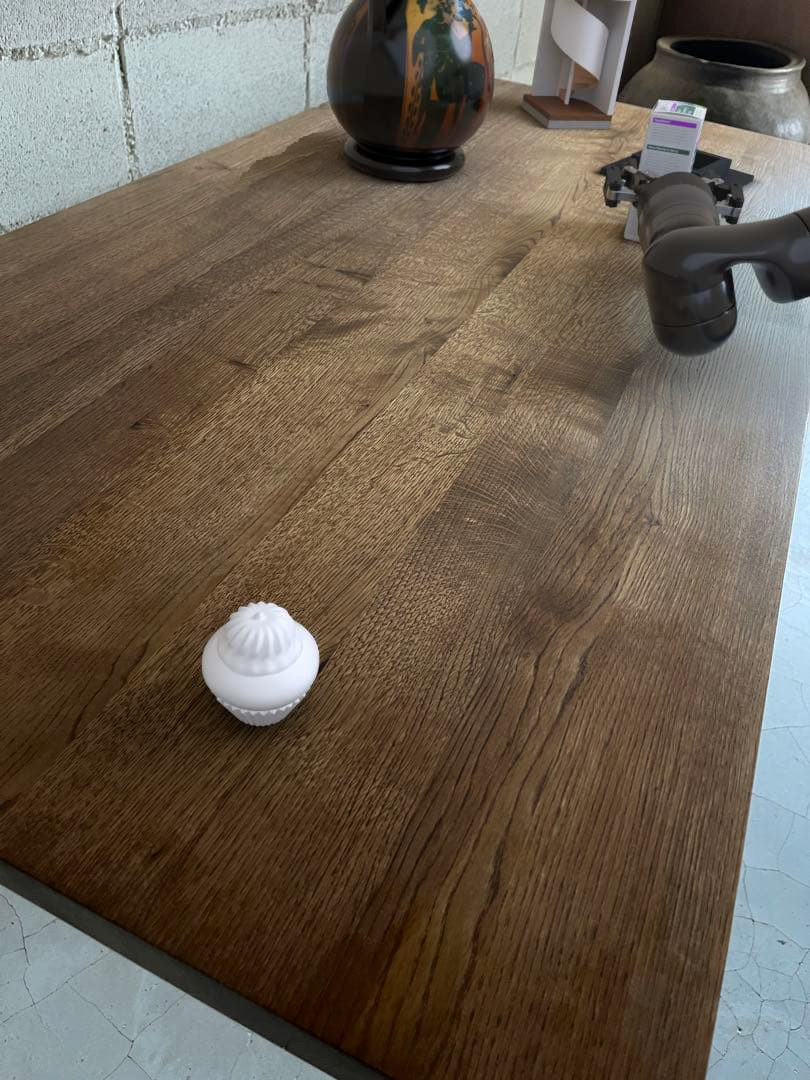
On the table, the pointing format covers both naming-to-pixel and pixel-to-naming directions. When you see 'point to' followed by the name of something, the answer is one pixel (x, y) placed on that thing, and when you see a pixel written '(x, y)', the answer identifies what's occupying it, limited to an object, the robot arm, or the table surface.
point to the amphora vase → (410, 85)
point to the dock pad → (700, 167)
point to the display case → (579, 62)
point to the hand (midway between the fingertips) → (668, 172)
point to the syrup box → (668, 145)
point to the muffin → (260, 663)
